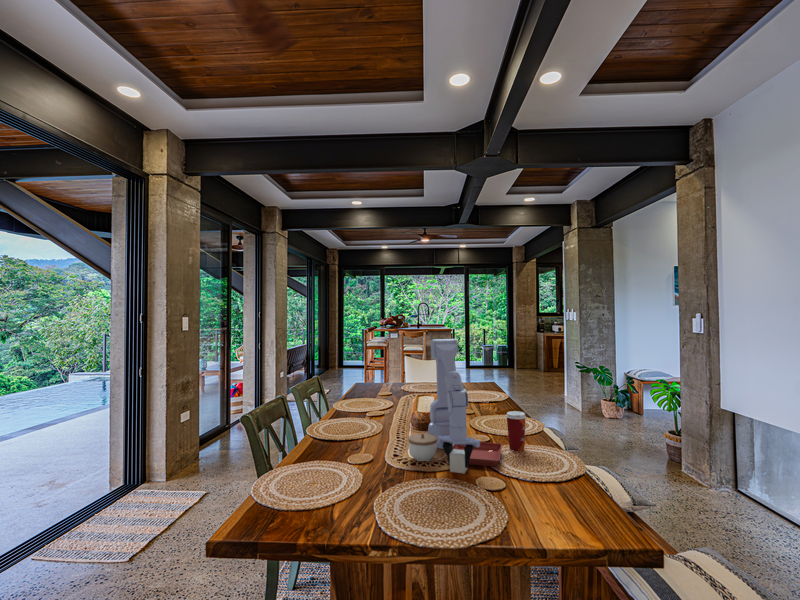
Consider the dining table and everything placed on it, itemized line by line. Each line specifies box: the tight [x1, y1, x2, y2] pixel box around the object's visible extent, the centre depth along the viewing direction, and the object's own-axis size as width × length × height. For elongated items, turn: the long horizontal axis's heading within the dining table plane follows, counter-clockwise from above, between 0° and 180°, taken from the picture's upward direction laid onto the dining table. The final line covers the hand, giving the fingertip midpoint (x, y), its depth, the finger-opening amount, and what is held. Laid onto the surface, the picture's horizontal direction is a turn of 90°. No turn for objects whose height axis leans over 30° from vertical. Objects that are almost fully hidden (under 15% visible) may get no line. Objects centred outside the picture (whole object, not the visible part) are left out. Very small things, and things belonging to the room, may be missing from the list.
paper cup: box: [505, 410, 527, 452], centre depth 156 cm, size 8×8×14 cm
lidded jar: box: [407, 432, 438, 462], centre depth 148 cm, size 11×11×9 cm
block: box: [449, 449, 469, 475], centre depth 137 cm, size 5×5×6 cm
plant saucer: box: [453, 441, 503, 467], centre depth 148 cm, size 18×18×3 cm
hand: (458, 465), depth 137 cm, fingers closed on block, 5 cm apart
